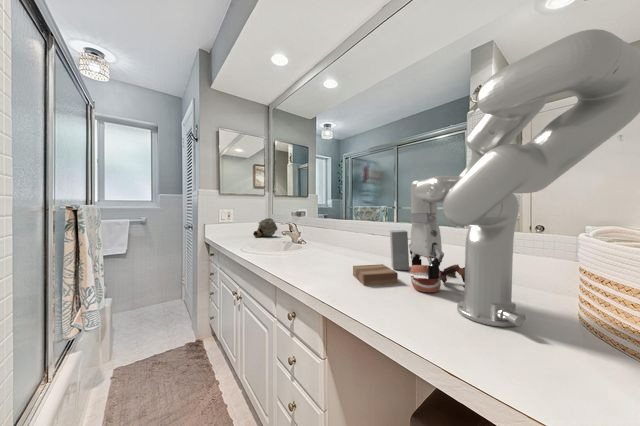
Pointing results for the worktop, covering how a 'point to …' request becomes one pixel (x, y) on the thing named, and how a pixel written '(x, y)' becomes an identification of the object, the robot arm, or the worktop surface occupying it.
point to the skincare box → (399, 249)
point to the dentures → (424, 279)
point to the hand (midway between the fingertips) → (424, 274)
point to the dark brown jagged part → (452, 273)
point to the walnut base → (375, 274)
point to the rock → (266, 228)
